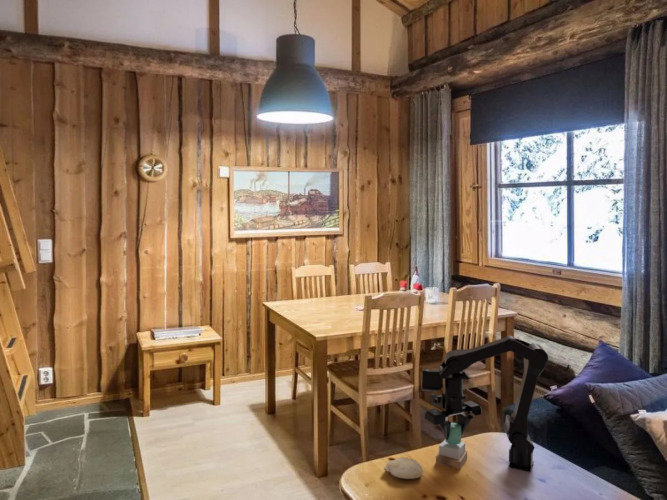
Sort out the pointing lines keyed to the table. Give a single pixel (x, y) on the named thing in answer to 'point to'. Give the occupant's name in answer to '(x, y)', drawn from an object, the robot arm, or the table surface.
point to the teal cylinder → (454, 434)
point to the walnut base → (451, 461)
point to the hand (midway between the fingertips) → (453, 437)
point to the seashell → (404, 468)
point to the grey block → (452, 449)
